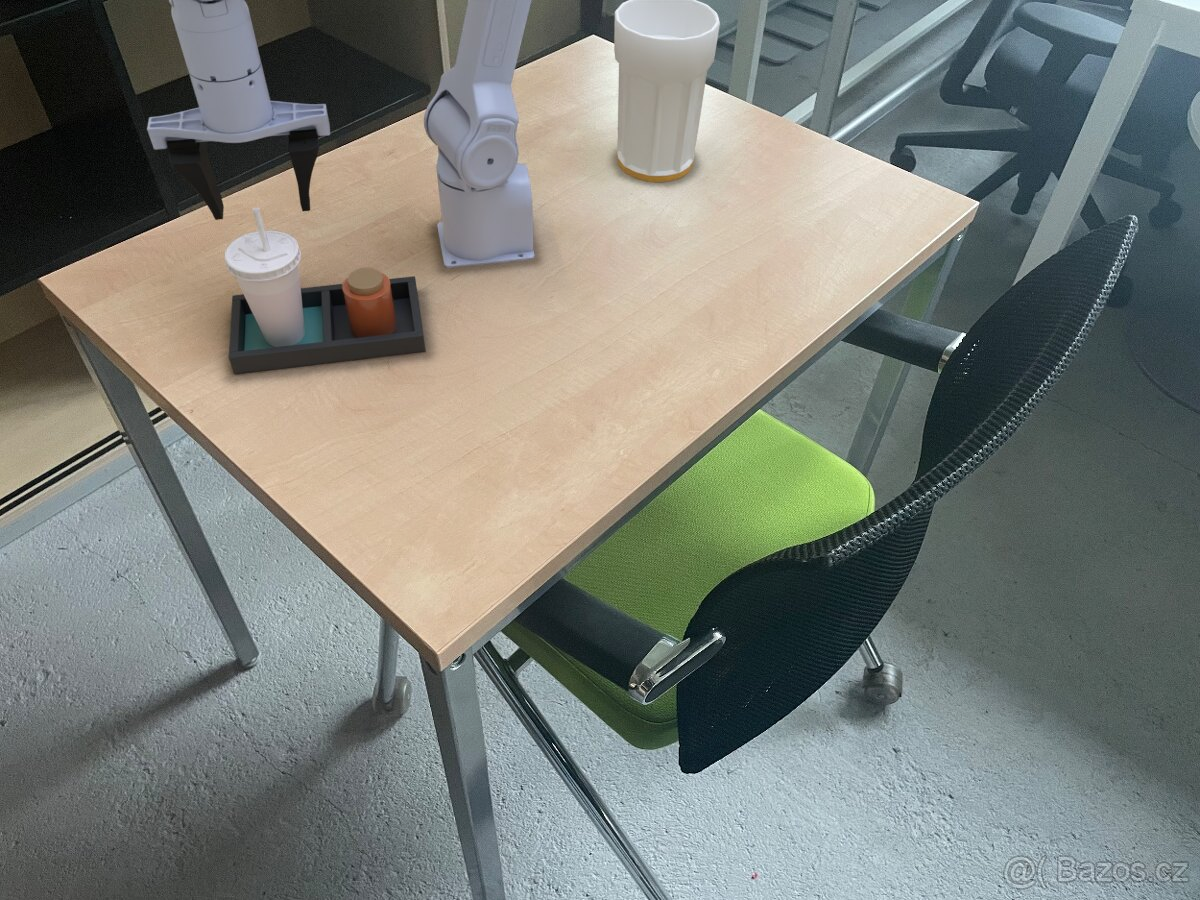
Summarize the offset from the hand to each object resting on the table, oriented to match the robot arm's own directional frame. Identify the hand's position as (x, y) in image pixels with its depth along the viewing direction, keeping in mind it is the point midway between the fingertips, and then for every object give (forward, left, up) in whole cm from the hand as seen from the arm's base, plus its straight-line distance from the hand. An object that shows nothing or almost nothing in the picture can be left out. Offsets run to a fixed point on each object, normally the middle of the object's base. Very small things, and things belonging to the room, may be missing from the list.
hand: (263, 209), depth 87 cm
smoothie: (0, +6, -10) cm, 12 cm away
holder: (-4, +6, -10) cm, 13 cm away
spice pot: (-8, +6, -10) cm, 14 cm away
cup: (-43, -19, -11) cm, 48 cm away
